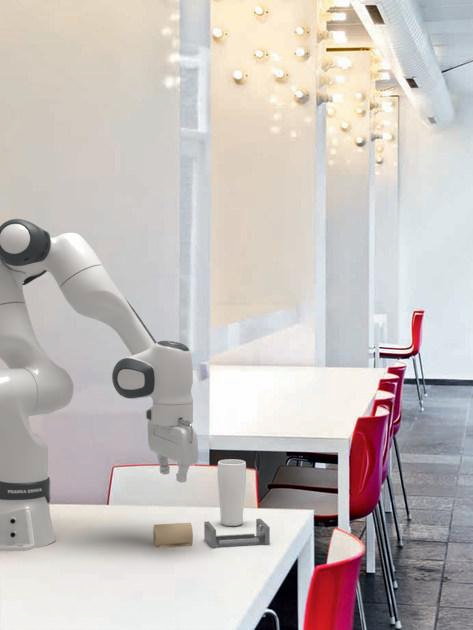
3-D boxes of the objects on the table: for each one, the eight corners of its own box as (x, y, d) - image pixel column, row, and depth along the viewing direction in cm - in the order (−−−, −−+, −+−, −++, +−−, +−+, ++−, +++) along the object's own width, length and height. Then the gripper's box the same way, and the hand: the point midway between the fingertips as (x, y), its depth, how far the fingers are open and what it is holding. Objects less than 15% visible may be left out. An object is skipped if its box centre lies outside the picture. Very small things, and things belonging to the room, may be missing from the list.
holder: (211, 550, 241) (211, 530, 240) (204, 541, 248) (204, 521, 248) (269, 547, 244) (269, 527, 243) (260, 538, 251) (260, 518, 251)
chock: (159, 549, 242) (159, 546, 241) (155, 543, 246) (155, 540, 246) (190, 547, 243) (190, 544, 243) (186, 541, 248) (186, 538, 248)
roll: (156, 550, 241) (156, 527, 241) (152, 544, 246) (152, 522, 246) (193, 548, 243) (193, 525, 243) (189, 542, 248) (189, 520, 248)
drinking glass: (242, 528, 260) (243, 465, 259) (214, 526, 262) (214, 464, 261) (248, 521, 267) (248, 459, 266) (220, 520, 268) (221, 458, 267)
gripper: (205, 420, 235) (205, 485, 236) (168, 408, 254) (168, 468, 254) (178, 422, 232) (178, 488, 233) (142, 410, 251) (142, 470, 252)
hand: (172, 477), depth 244 cm, fingers open, 8 cm apart
